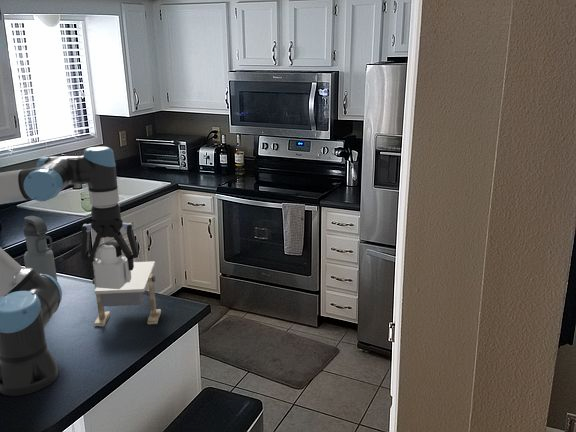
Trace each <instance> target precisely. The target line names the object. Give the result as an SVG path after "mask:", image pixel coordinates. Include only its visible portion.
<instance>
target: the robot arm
mask: <svg viewBox="0 0 576 432" xmlns="http://www.w3.org/2000/svg"><path fill="white" fill-rule="evenodd" d="M114 154H115V153H114V150H113V149H112V148H111V147H109V146H92V147H91V146H90V147H88V148H85V149H84V151H83V155H72V156H71V155H67V156H66V155H64V156H63V155H62V156H59V155H58V156H57V155H50V156H42V157H40V158H39V159H38V160H37V163H36V167H31V168H30V167H29V168H26V169H18V170H17V169H16V170H10V171H4V172H0V205H4V204H10V203H16V202H17V203H18V202H24V201H30V200H34V201H36V202H46V201H49V200H51V199H54V198H55V197H57V196H58V195H60V193H61V192H62V191H63V190H64V189H65V188H67V187H68V186H69V185H86V184H87V190H88V195H89V197H88V198H89V204H90V205H91V206H90V213H91V223H84V224H83V225H82V226H81V227H80V230H81V233H82V242H81V243H82V244H81V256H80V257H81V258H80V259H82V260H83V261H85V260H86V261H88V265H89V271H90V272H91V273H93V277H94V278H95V271H94V264H95V263H97V262H98V261H99V258H96V255H97V252H98V251H99V249H98V247H99V246H100V245H101V241H102V239H104V238H113V239H114V240H115V242H117V243H118V244H119V246H120V248H121V251H122V254H124V257H126V260H125V270H126V279H127V282H130V280H131V270H133V268H134V263H133V262H134V259H137V258H138V257H139V255H140V251H139V246H138V244H137V241H136V237H135V232H134V222H132V221H130V222H124V221H123V220H122V217H121V216H122V215H121V214H122V213H121V205H120V204H119V202H120V197H119V188H118V177H117V168H116V167H117V163H116V161H115V155H114ZM122 228H123V230H124V231H125V232H126V236H127V239H128V243H129V244H128V243H127V242H126V240H125V239H124V237H123V234H122V232H121V229H122ZM91 230H93V231H94V232H95V233H96V236H95V239H94V242H93V245H92V247H91V251H90V252H89V250H90V236H91V235H90V234H91V233H90V232H91ZM129 245H130V246H129ZM95 284H96V280H95ZM95 284H94V285H95ZM62 299H63V291H62V287H61V285H60V283H59V282H58V280H57V281H56V280H55V279H54V278H53V277H51V276H49V275H47V274H38V273H37V272H36V271H35V270H34V269H32V268H25V267H23V266H21V264H20V263H18V262H17V261H16V260H15V259H14V258H13V257H12V256H10V255H9V253H7V252H6V251H5V250H4V249H3V248H2V247H0V394H2V395H5V396H11V397H14V396H15V397H16V396H25V395H30V394H34V393H36V392H39V391H41V390H43V389H45V388H46V387H48V386H50V385H51V384H52V383H53V382H55V381H56V379H57V378H58V377H59V368H58V363H57V362H56V359H55V358H54V356H53V355H52V353H51V352H50V350H49V348H48V345H47V339H46V332H45V327H46V326H47V324H48V323H49V321H50V320H51V318H52V317H53V315H54V314H55V313H56V312H57V311H58V309H59V307H60V306H61V302H62Z"/></svg>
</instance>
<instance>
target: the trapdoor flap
mask: <svg viewBox="0 0 576 432" xmlns="http://www.w3.org/2000/svg"><path fill="white" fill-rule="evenodd" d="M133 263H134V268H133V270H131V280H130V282H127V283H126V284H125V285H124V286H122V287H121V288H120V289H110V288H96V289H94V295H96V294H100V298H101V305H102V306H104V307H120V306H121V307H123V306H141V305H142V302H143V300H144V295H145V294H144V293H145V291H146V288H147V287H148V285H149V283H148V277H149V275H150V274H153V270H154V268H155V265H156V261H154V260H153V261H133Z"/></svg>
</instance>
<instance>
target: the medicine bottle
mask: <svg viewBox="0 0 576 432" xmlns="http://www.w3.org/2000/svg"><path fill="white" fill-rule="evenodd" d="M98 255H99V258H98V262H97V263H95V264H94V271H95V277H94V278H95V280H96V287H97V288H110V289H120V288H121V287H122V286H124V285H125V284H126V283H127V279H126V270H125V260H126V256H123V251H122V250H121V248H120V246H119V244H118V243H117V241H107V242H104V243H100V244H99V247H98Z"/></svg>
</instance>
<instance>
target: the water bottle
mask: <svg viewBox="0 0 576 432" xmlns="http://www.w3.org/2000/svg"><path fill="white" fill-rule="evenodd" d="M23 219H24V221H25V225H24V226H23V227H22V230H23V234H24V235H23V236H24V237H25V244H26V250H27V251H25V253H24V254H23V261H24V266H25V267H24V268H32V269H34V270H35V271H36V272H37V273H38V274H47V275H49V276H51V277H53V278H54V279H55V280H56V281H57V282H58V277H57V276H58V275H57V269H56V264H55V257H54V252H53V250H52V249H53V248H54V246H53V238H52V237H51V236H49V235H47V233H48V228H47V227H48V226H47V224H46V222H45V221H44V219H42V218H41V217H39V216H35V215H28V216H25V217H24V218H23ZM47 239H48V240H49V247H48V243H47Z"/></svg>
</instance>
